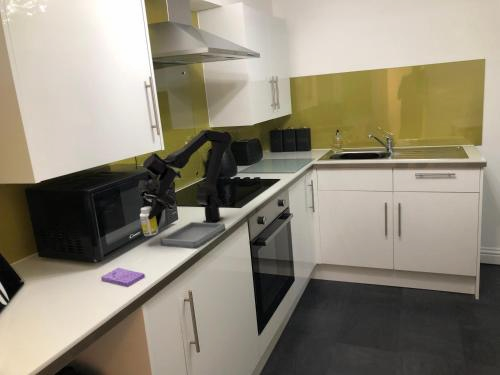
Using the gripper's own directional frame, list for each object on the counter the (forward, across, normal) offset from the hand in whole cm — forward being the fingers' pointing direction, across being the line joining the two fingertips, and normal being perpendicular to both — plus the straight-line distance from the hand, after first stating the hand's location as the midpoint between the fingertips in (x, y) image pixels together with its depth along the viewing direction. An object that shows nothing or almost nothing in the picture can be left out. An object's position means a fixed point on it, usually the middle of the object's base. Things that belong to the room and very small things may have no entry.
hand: (144, 218), depth 153 cm
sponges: (+23, +20, -7) cm, 31 cm away
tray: (-2, +10, +17) cm, 20 cm away
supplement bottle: (+4, 0, +6) cm, 7 cm away
